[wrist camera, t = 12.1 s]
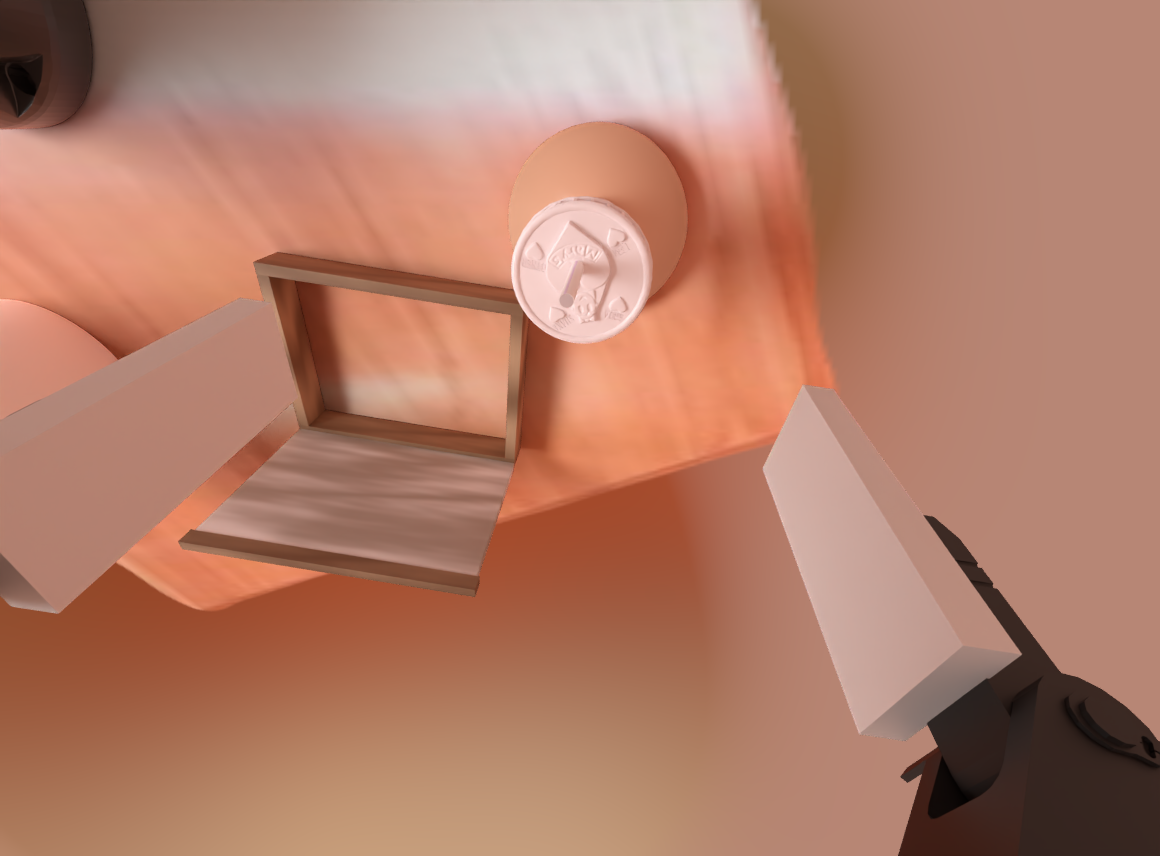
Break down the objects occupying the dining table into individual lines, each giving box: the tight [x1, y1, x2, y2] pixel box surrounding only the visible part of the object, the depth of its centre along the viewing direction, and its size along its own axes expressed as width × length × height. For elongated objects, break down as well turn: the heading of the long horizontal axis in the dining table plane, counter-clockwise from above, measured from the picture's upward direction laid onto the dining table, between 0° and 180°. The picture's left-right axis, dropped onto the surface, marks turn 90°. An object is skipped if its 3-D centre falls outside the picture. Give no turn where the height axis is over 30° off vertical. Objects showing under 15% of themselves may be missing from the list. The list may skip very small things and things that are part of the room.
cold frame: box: [178, 252, 529, 597], centre depth 31 cm, size 16×18×15 cm
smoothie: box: [511, 196, 653, 343], centre depth 23 cm, size 6×6×14 cm
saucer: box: [508, 122, 688, 300], centre depth 29 cm, size 11×11×1 cm
